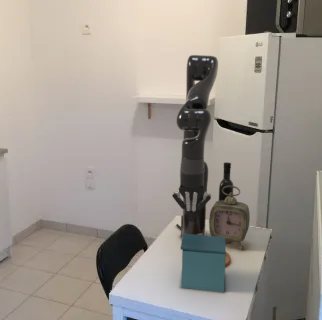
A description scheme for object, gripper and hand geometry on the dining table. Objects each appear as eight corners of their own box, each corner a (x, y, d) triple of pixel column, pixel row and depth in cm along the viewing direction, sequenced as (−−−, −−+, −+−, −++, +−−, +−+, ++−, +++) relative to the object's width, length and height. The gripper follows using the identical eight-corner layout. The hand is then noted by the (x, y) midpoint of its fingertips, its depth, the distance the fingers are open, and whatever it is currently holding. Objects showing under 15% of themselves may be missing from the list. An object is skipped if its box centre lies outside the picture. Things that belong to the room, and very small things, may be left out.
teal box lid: (180, 249, 142) (180, 247, 142) (183, 235, 153) (183, 233, 153) (225, 254, 139) (225, 251, 139) (225, 239, 150) (225, 237, 150)
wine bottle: (231, 227, 194) (234, 161, 187) (230, 232, 189) (233, 165, 182) (218, 226, 196) (221, 161, 189) (217, 231, 191) (219, 164, 183)
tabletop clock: (208, 246, 176) (210, 186, 170) (212, 237, 184) (215, 180, 178) (245, 252, 170) (249, 190, 164) (248, 243, 178) (252, 184, 172)
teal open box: (181, 287, 145) (182, 250, 142) (184, 271, 156) (184, 236, 153) (223, 292, 142) (225, 254, 139) (223, 274, 153) (225, 239, 150)
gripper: (213, 168, 143) (211, 218, 147) (172, 166, 146) (172, 215, 150) (213, 174, 136) (211, 226, 140) (170, 172, 139) (169, 223, 143)
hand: (190, 220), depth 145 cm, fingers closed
